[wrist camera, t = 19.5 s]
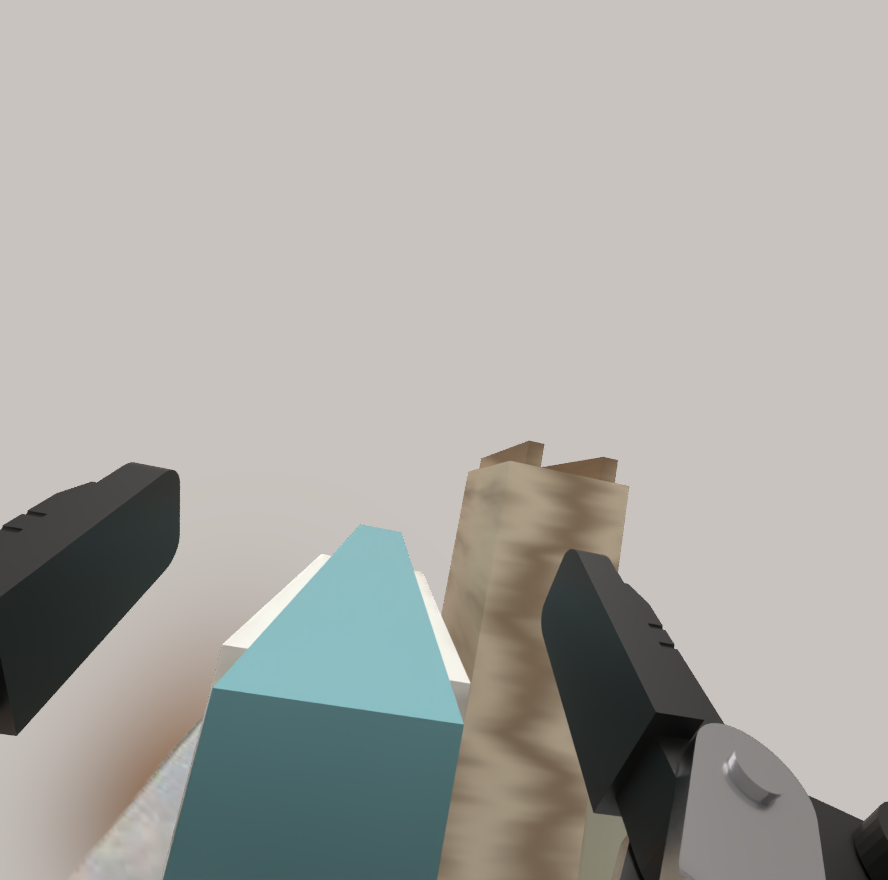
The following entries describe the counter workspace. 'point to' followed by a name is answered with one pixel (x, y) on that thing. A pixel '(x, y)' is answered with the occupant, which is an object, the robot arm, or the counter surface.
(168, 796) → the counter surface
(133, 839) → the counter surface
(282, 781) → the rod
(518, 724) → the stepped wooden blocks
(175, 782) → the counter surface
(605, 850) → the skincare box
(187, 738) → the counter surface
